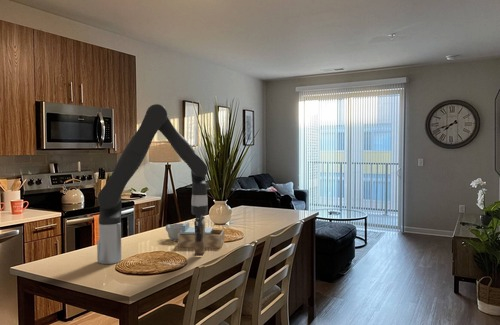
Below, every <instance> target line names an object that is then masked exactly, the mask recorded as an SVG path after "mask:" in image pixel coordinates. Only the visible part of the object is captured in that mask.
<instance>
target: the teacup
mask: <svg viewBox="0 0 500 325" xmlns="http://www.w3.org/2000/svg"><path fill="white" fill-rule="evenodd" d="M183 224H184V223H181V222H180V223H179V222H178V223H173V224H166V225H165V231H166V232H167V236H168V238H169V239H170V240H171V241H172V242H173V241H174V242H178V234H179V233H180V231H181V230H182V225H183Z"/></svg>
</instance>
